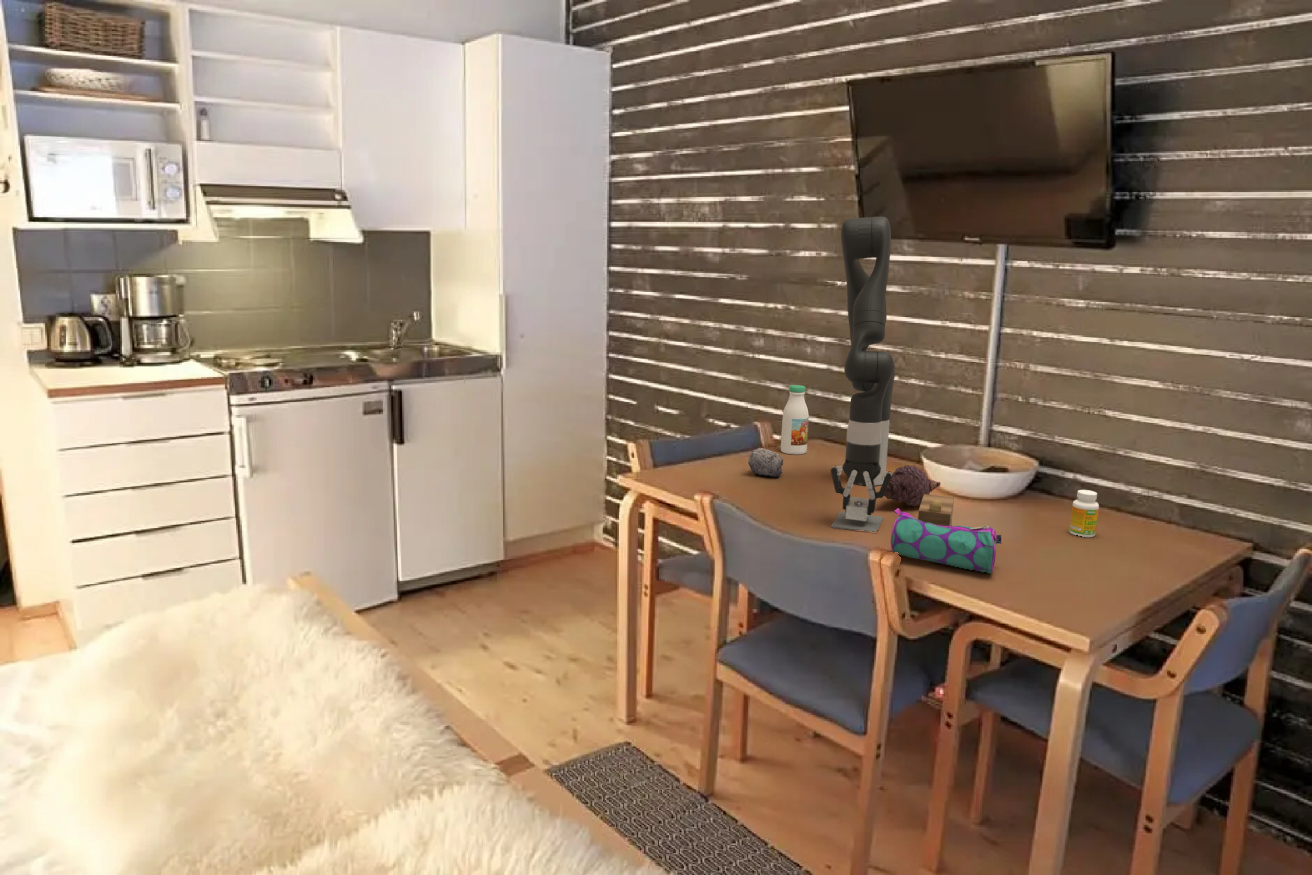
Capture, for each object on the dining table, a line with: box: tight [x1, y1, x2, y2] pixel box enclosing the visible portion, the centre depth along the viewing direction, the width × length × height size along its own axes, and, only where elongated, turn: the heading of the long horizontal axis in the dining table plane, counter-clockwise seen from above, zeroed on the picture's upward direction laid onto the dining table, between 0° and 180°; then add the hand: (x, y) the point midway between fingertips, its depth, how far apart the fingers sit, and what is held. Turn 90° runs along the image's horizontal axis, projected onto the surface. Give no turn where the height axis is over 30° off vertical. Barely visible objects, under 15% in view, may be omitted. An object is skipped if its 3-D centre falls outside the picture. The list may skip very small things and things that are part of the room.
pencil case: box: [890, 508, 1002, 574], centre depth 191 cm, size 21×9×10 cm, turn 63°
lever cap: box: [846, 496, 869, 521], centre depth 216 cm, size 8×4×3 cm, turn 160°
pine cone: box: [883, 464, 941, 507], centre depth 231 cm, size 18×10×10 cm, turn 118°
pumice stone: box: [747, 447, 784, 478], centre depth 256 cm, size 10×8×10 cm
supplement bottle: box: [1068, 489, 1100, 538], centre depth 212 cm, size 5×5×10 cm
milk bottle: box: [780, 384, 810, 455], centre depth 282 cm, size 8×8×20 cm
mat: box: [830, 511, 884, 533], centre depth 217 cm, size 12×10×1 cm
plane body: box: [917, 493, 955, 526], centre depth 208 cm, size 14×7×10 cm, turn 160°
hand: (858, 512), depth 217 cm, fingers closed on lever cap, 4 cm apart
